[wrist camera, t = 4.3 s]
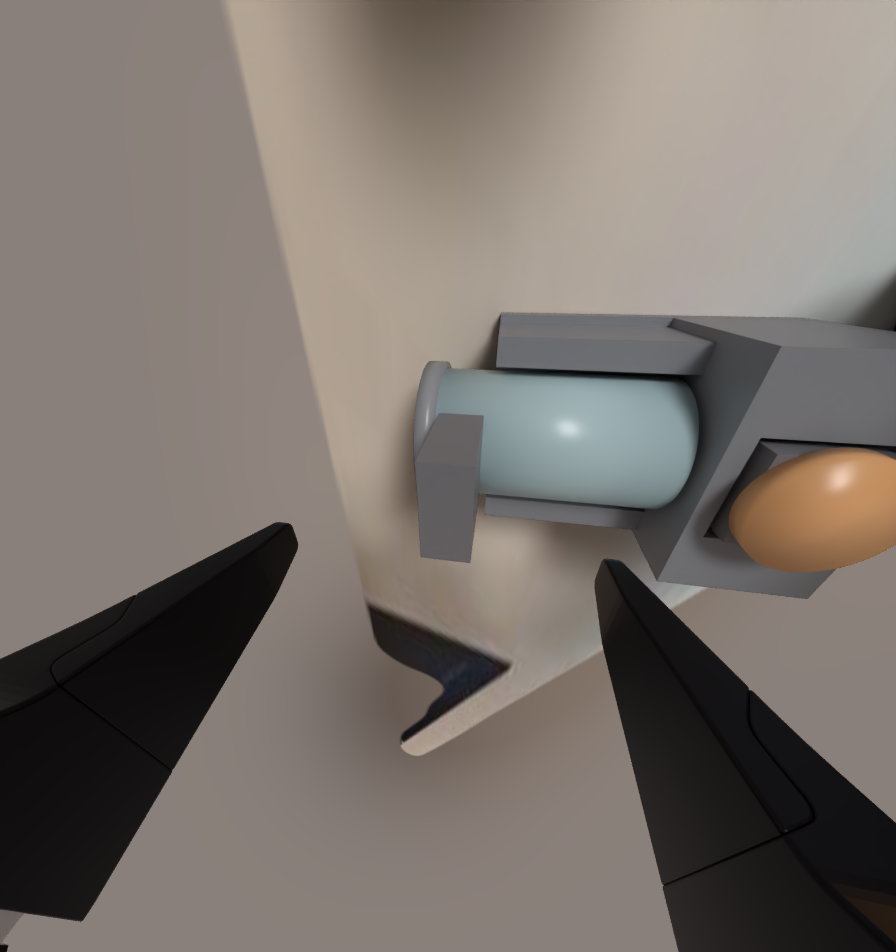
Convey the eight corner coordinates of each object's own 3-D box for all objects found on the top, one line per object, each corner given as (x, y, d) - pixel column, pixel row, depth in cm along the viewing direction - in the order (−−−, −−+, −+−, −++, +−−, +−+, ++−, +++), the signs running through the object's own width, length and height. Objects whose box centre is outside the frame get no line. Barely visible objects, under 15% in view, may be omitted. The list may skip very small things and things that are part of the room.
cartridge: (654, 355, 16) (818, 446, 7) (616, 469, 19) (698, 616, 11) (440, 348, 17) (377, 418, 9) (441, 455, 21) (397, 577, 12)
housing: (802, 318, 15) (1041, 353, 8) (708, 491, 20) (807, 599, 14) (501, 312, 17) (497, 338, 10) (488, 473, 22) (479, 560, 15)
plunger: (848, 413, 12) (979, 467, 9) (780, 509, 14) (862, 580, 11) (714, 406, 13) (789, 454, 9) (671, 499, 15) (717, 564, 12)
